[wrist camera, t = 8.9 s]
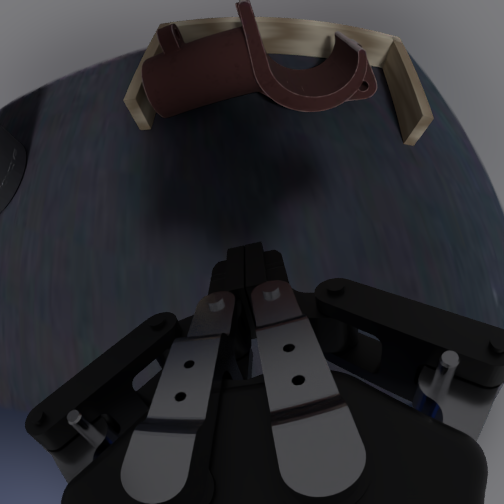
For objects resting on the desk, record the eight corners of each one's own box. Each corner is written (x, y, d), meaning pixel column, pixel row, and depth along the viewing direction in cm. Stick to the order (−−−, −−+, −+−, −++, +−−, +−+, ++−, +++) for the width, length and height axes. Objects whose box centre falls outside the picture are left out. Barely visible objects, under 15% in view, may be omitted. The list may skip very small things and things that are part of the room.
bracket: (388, 110, 19) (377, -14, 11) (175, 153, 22) (119, 47, 14) (362, 80, 22) (347, -19, 15) (186, 117, 26) (144, 29, 18)
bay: (140, 130, 22) (123, 100, 18) (168, 51, 25) (160, 23, 21) (413, 145, 21) (433, 118, 17) (388, 64, 24) (399, 37, 20)
